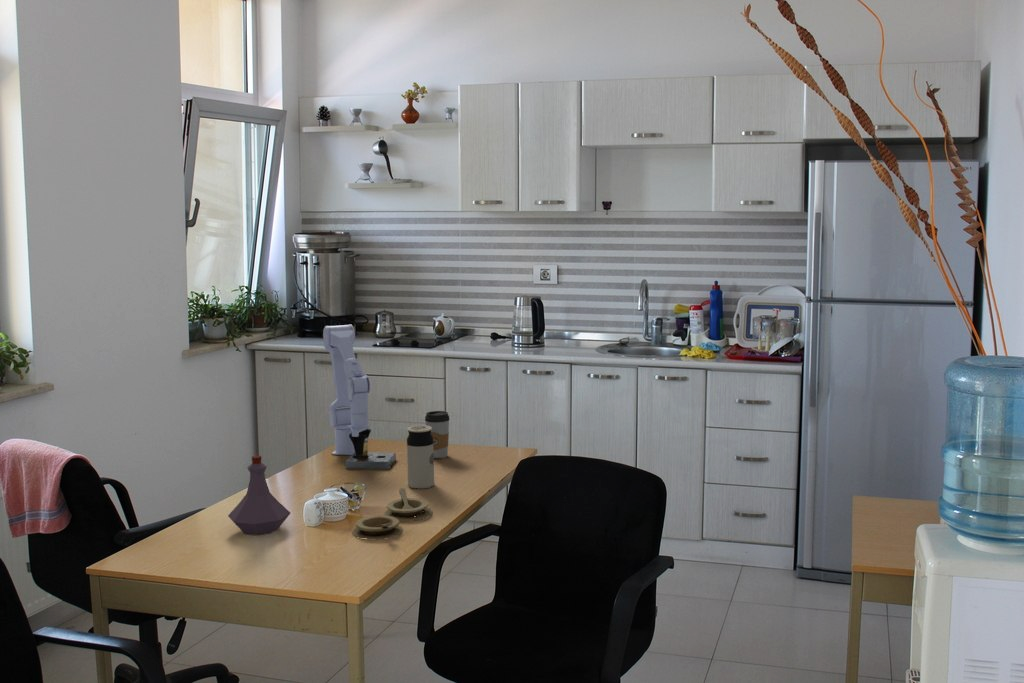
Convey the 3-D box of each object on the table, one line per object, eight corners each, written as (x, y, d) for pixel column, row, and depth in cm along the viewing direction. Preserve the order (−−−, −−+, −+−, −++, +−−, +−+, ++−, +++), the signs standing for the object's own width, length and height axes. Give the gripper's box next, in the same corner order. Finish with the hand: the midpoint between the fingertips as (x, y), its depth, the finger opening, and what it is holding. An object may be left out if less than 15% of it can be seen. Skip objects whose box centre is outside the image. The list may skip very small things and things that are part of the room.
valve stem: (361, 456, 342) (361, 436, 341) (370, 458, 340) (370, 438, 339) (352, 458, 339) (353, 438, 338) (361, 461, 337) (362, 440, 336)
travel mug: (403, 487, 312) (401, 429, 309) (417, 480, 319) (415, 424, 316) (425, 490, 308) (423, 431, 306) (439, 483, 315) (437, 426, 313)
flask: (266, 516, 285) (262, 446, 283) (304, 527, 275) (301, 455, 272) (215, 531, 273) (211, 458, 270) (253, 544, 263) (249, 468, 260)
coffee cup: (422, 458, 345) (420, 415, 343) (431, 452, 353) (430, 410, 351) (445, 460, 343) (444, 416, 341) (454, 454, 351) (453, 411, 349)
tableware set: (389, 506, 296) (388, 486, 295) (450, 513, 289) (450, 492, 288) (333, 538, 269) (332, 516, 268) (399, 547, 262) (398, 524, 261)
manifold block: (354, 459, 346) (354, 452, 346) (395, 459, 345) (395, 452, 344) (345, 468, 334) (345, 461, 334) (387, 469, 333) (387, 461, 333)
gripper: (352, 408, 345) (353, 447, 347) (342, 417, 331) (343, 458, 332) (373, 408, 344) (374, 447, 346) (363, 417, 330) (365, 458, 332)
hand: (360, 453), depth 339 cm, fingers closed on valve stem, 4 cm apart
